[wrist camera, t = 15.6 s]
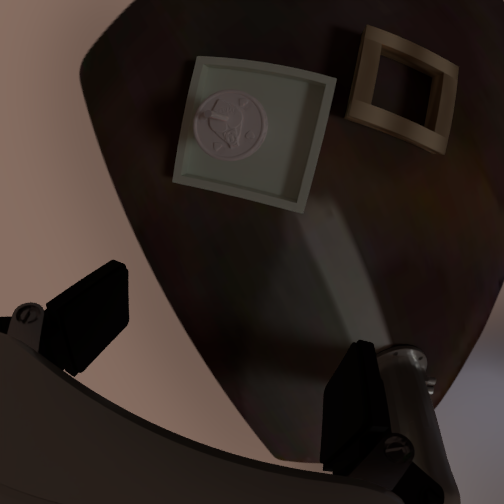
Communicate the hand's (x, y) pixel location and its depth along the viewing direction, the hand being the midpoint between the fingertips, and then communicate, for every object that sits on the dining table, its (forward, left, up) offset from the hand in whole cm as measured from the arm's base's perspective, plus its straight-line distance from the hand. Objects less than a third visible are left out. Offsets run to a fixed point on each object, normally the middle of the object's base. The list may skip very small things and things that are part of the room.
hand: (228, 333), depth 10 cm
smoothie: (+6, -7, -24) cm, 26 cm away
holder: (-11, -18, -25) cm, 32 cm away
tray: (+5, -8, -25) cm, 26 cm away
